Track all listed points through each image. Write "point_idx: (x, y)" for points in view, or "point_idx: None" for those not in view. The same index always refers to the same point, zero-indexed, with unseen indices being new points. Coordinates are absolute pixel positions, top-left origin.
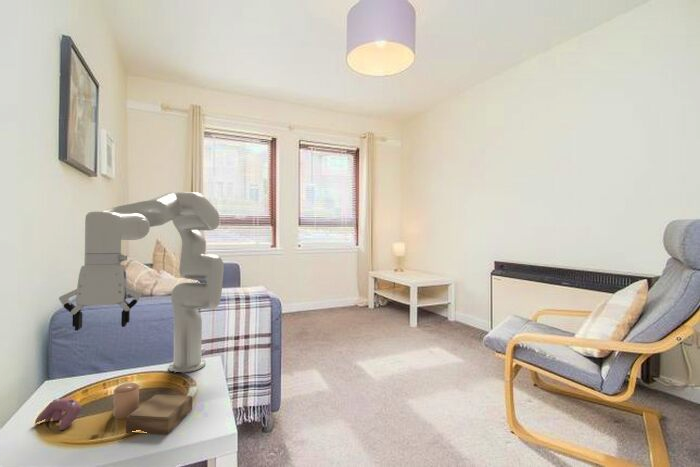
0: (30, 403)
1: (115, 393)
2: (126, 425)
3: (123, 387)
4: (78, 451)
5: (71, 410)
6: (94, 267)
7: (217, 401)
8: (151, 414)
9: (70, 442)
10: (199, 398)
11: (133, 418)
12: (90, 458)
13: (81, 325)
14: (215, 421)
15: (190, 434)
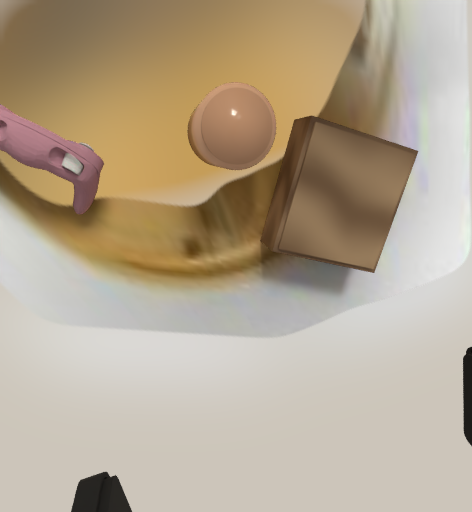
0: None
1: (211, 161)
2: (266, 245)
3: (228, 130)
4: (187, 302)
5: (85, 187)
6: None
7: (450, 111)
8: (333, 250)
9: (146, 266)
10: (404, 78)
11: (290, 254)
12: (225, 327)
13: (118, 510)
14: (442, 218)
15: (396, 264)
